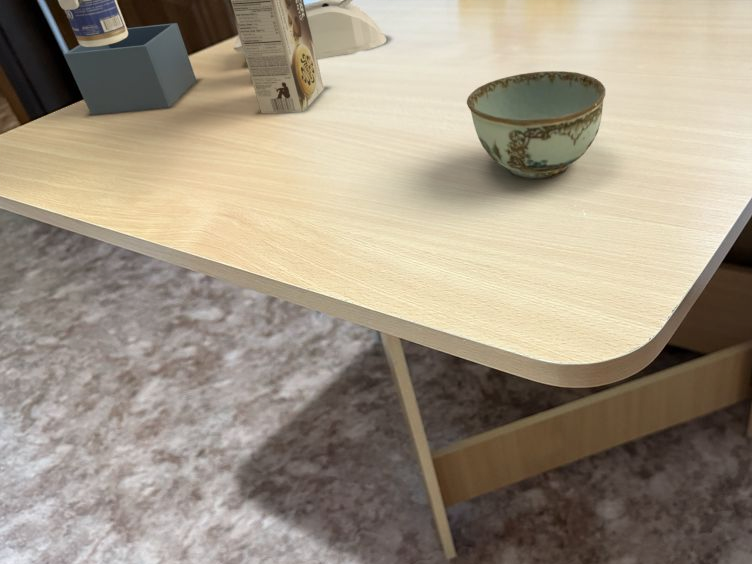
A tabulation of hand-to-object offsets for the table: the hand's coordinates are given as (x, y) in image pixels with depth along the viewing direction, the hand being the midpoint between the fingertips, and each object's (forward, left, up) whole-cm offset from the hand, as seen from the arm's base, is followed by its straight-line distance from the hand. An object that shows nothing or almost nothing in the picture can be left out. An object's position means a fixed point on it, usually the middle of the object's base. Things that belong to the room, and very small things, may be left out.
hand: (88, 0), depth 74 cm
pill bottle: (0, 0, -4) cm, 4 cm away
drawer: (-11, +26, -18) cm, 33 cm away
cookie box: (+14, +16, -18) cm, 28 cm away
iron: (+12, +41, -18) cm, 47 cm away
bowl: (+47, -12, -18) cm, 52 cm away
